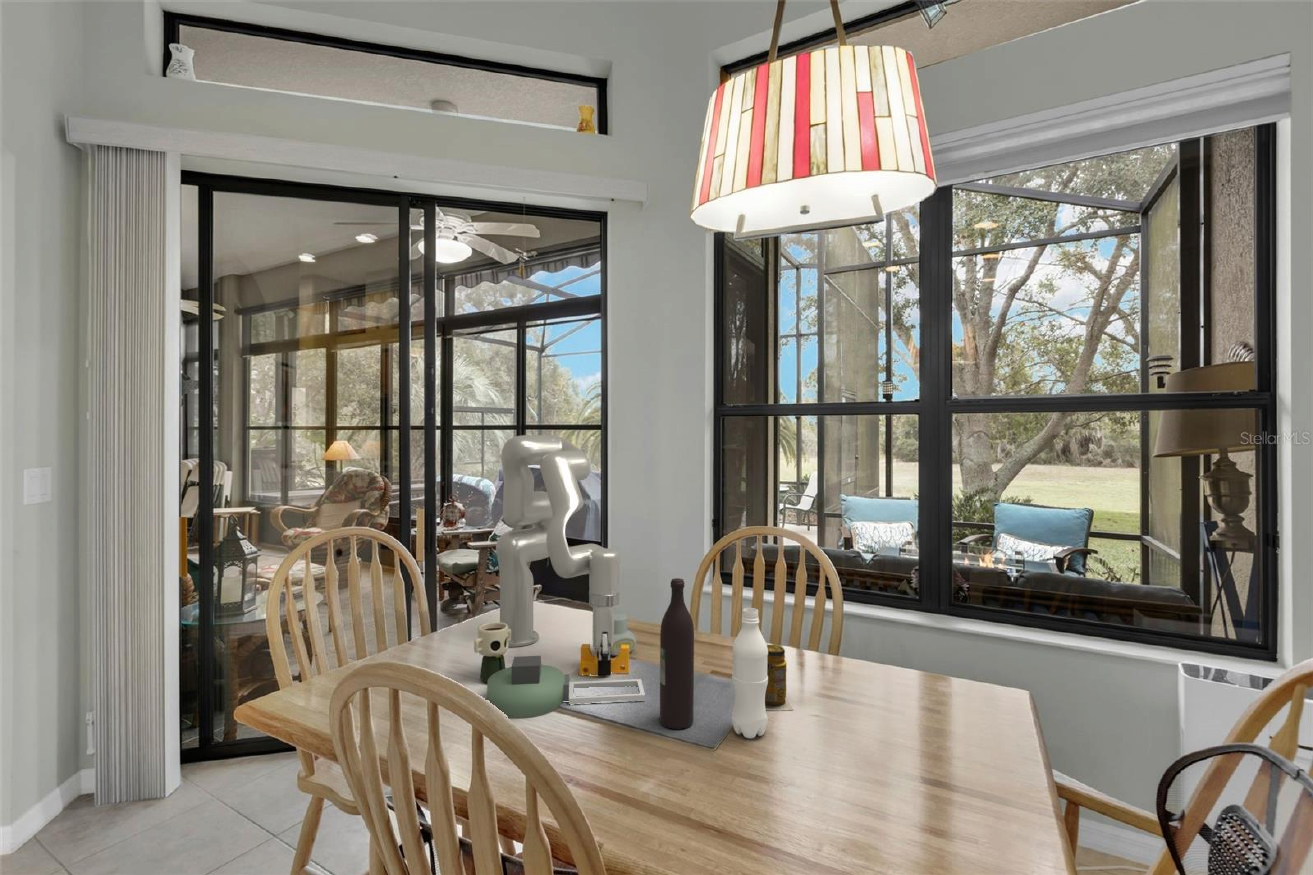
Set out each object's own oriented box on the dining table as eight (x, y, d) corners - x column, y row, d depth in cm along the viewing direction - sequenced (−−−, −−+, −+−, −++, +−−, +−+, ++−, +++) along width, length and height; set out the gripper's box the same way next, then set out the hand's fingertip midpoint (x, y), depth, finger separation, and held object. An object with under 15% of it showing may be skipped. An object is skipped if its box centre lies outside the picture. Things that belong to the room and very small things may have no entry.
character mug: (484, 690, 146) (484, 635, 146) (465, 683, 150) (465, 629, 150) (520, 676, 155) (520, 623, 155) (501, 669, 159) (501, 618, 159)
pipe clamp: (579, 676, 155) (579, 650, 155) (582, 669, 159) (582, 644, 159) (627, 677, 155) (628, 651, 155) (629, 670, 159) (629, 644, 159)
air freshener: (604, 661, 165) (604, 623, 165) (591, 651, 172) (591, 615, 172) (640, 653, 171) (641, 617, 170) (627, 644, 178) (627, 609, 178)
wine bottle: (676, 711, 136) (676, 574, 136) (700, 722, 131) (701, 580, 130) (652, 722, 131) (653, 579, 131) (677, 734, 126) (678, 585, 126)
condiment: (784, 694, 145) (784, 643, 145) (793, 711, 137) (793, 656, 137) (752, 694, 145) (753, 643, 145) (760, 711, 137) (760, 656, 136)
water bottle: (745, 744, 122) (746, 617, 122) (724, 728, 128) (725, 607, 128) (774, 736, 125) (775, 612, 125) (753, 721, 132) (754, 603, 131)
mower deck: (492, 686, 148) (492, 649, 148) (639, 680, 153) (639, 643, 153) (482, 720, 131) (482, 677, 131) (647, 711, 136) (647, 670, 136)
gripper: (588, 590, 165) (588, 659, 165) (589, 609, 148) (589, 685, 148) (617, 589, 166) (616, 658, 166) (621, 608, 149) (621, 684, 149)
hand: (603, 670), depth 157 cm, fingers closed on pipe clamp, 4 cm apart
